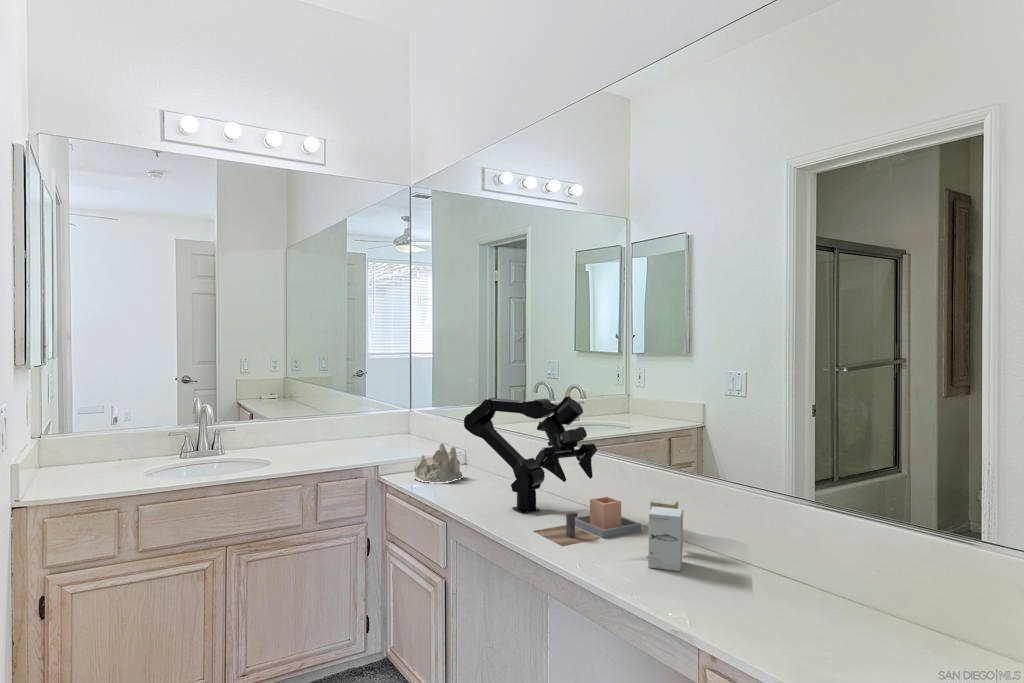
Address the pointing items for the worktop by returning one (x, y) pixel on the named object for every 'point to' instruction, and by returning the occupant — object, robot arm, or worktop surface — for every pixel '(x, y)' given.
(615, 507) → the terracotta collar
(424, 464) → the miniature mountain rock
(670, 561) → the supplement box
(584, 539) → the walnut base
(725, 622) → the worktop surface
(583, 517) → the charcoal tray
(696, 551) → the worktop surface
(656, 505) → the skincare box
